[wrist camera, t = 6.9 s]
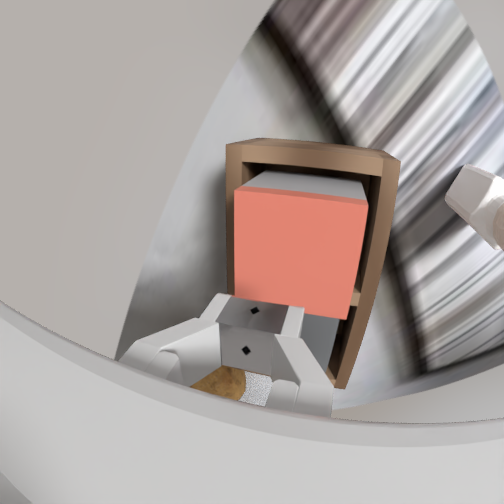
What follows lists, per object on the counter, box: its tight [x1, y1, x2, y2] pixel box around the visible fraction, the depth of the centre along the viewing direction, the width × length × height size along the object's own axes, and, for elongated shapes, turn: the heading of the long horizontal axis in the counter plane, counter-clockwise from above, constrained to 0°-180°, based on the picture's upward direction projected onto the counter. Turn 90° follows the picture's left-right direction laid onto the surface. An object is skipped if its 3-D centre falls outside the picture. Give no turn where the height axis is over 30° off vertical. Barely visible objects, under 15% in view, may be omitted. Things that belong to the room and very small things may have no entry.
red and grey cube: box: [234, 170, 368, 320], centre depth 16 cm, size 6×6×6 cm
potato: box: [190, 365, 246, 401], centre depth 32 cm, size 10×14×8 cm
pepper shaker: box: [444, 164, 504, 251], centre depth 15 cm, size 4×4×10 cm
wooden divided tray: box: [226, 138, 401, 389], centre depth 22 cm, size 10×18×7 cm, turn 178°
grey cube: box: [300, 313, 340, 373], centre depth 24 cm, size 6×6×6 cm
